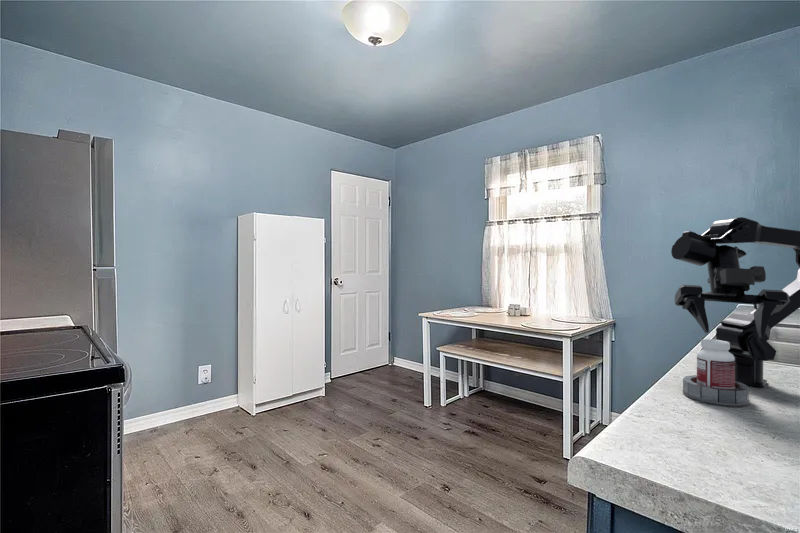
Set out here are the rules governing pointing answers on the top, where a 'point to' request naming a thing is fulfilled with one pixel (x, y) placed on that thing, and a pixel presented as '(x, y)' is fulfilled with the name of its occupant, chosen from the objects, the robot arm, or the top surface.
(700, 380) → the pill bottle
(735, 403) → the ring
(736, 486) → the top surface
